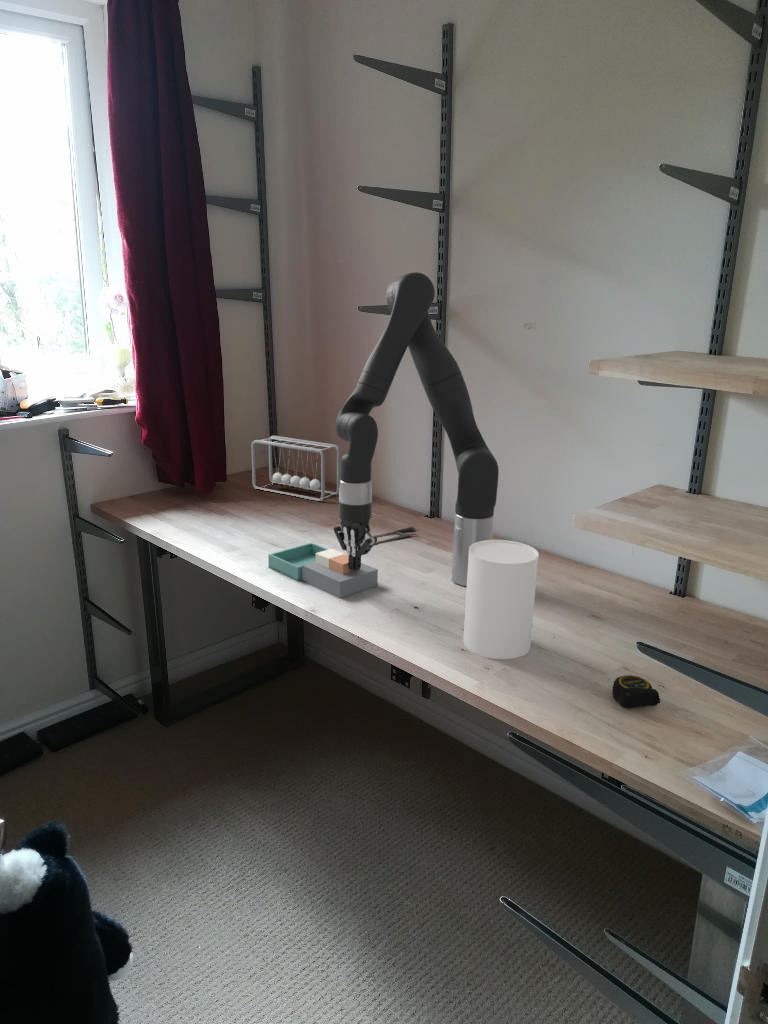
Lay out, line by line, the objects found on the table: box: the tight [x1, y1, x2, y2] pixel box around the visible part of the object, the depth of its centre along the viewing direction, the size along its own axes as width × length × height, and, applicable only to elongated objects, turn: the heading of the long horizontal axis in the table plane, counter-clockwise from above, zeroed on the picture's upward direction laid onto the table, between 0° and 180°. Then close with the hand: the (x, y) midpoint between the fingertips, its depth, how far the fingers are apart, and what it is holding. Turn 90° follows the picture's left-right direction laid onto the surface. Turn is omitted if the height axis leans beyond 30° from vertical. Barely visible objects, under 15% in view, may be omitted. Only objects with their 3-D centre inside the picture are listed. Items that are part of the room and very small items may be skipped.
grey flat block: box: [301, 561, 379, 599], centre depth 179 cm, size 14×12×4 cm
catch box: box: [267, 542, 329, 582], centre depth 189 cm, size 12×14×4 cm
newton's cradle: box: [250, 435, 341, 502], centre depth 253 cm, size 30×10×18 cm, turn 60°
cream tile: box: [316, 548, 344, 568], centre depth 181 cm, size 5×5×2 cm
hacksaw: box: [372, 526, 419, 547], centre depth 211 cm, size 24×10×2 cm, turn 122°
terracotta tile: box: [329, 553, 352, 574], centre depth 178 cm, size 5×5×2 cm
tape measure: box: [611, 674, 661, 709], centre depth 131 cm, size 7×7×4 cm
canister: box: [462, 539, 540, 660], centre depth 149 cm, size 14×14×20 cm
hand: (354, 569), depth 175 cm, fingers closed
